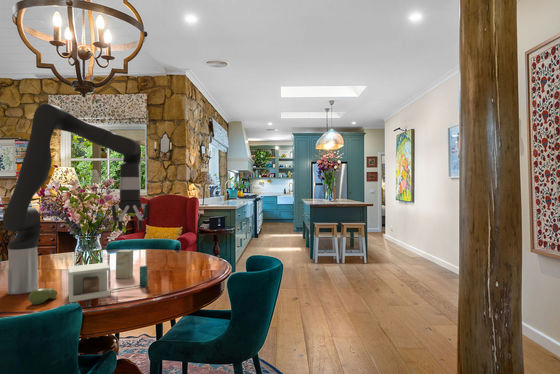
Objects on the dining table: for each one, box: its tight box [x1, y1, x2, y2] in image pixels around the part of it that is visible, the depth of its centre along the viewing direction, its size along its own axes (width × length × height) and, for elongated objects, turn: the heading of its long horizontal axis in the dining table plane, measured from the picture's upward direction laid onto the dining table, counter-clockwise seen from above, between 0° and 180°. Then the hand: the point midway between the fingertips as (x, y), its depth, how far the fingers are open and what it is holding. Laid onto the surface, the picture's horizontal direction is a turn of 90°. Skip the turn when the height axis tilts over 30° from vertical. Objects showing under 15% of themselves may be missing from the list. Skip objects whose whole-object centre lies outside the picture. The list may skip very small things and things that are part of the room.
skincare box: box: [115, 249, 134, 279], centre depth 156 cm, size 6×4×12 cm
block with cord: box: [82, 265, 149, 294], centre depth 135 cm, size 23×5×8 cm, turn 123°
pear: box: [28, 287, 58, 305], centre depth 123 cm, size 6×5×10 cm
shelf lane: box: [67, 261, 111, 303], centre depth 130 cm, size 13×11×11 cm
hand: (130, 230), depth 138 cm, fingers open, 6 cm apart
